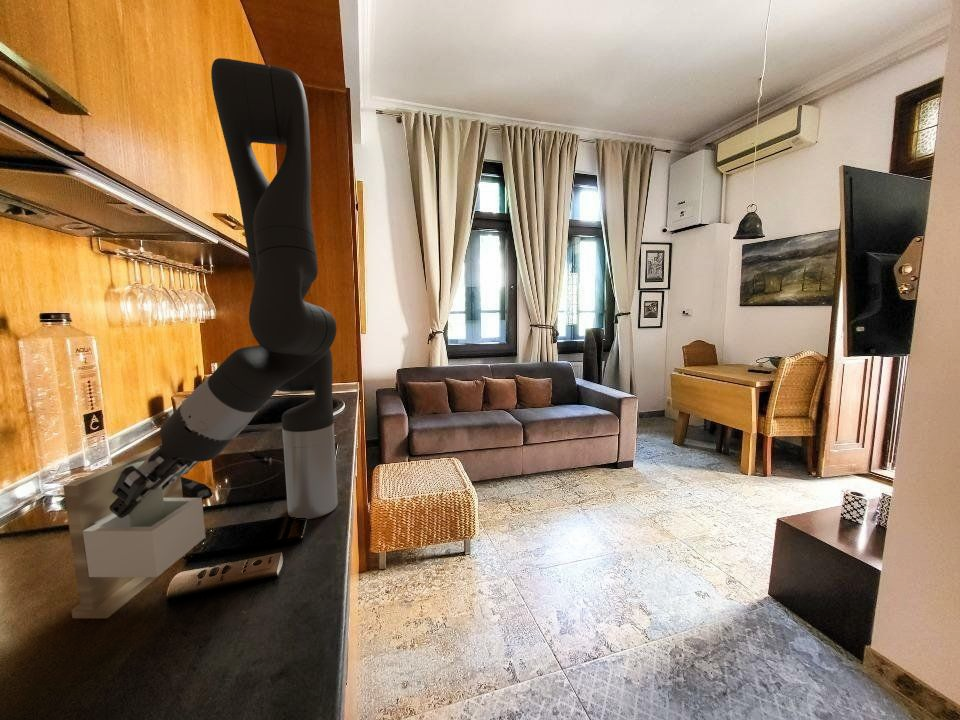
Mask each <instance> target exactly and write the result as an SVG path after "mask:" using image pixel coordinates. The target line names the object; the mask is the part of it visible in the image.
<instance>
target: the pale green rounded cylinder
mask: <svg viewBox="0 0 960 720" xmlns="http://www.w3.org/2000/svg"><path fill="white" fill-rule="evenodd" d="M144 462H145V461H141V462H137V463H133V464H131V465H128V466H126V467H125V468H127V467H130V466H134V467H135V468H136V469H137V468H138V467H139V466H141V465H142V464H143V463H144ZM125 468H124V469H125ZM124 469H123V470H124ZM156 478H157V477H156ZM158 479H159V480H160V478H158ZM145 488H146V485H145V487H144V489H145ZM144 489H143V490H144ZM129 518H130V526H131V527H151V526H152V525H154V524H156V523H157V522H159V521H160V520H162V519H163V518H165V508H164V499H163V491H162V487H159V488H157V489H155V490H152V491H151V492H150V493H149V494H148V495H147V496H145V498H144V499H143V500H141V502H140V503H139V504H138V505H137V506H136V507H135V508H134V509H133V510H132V511H131V512H130V513H129Z"/></svg>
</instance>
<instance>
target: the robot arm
mask: <svg viewBox="0 0 960 720" xmlns="http://www.w3.org/2000/svg"><path fill="white" fill-rule="evenodd" d="M210 72H211V73H210V76H211V88H212V92H213V98H214V102H215V106H216V112H217V115H218V119H219V122H220V128H221V131H222V134H223V139H224V142H225V147H226V150H227V154H228V158H229V162H230V166H231V170H232V174H233V179H234V182H235V185H236V186H235V187H236V193H237V196H238V200H239V206H240V207H239V208H240V213H241V219H242V224H243V231H244V237H245V244H246V250H247V254H248V259H249V264H250V270H251V274H252V277H253V282H254V284H253V288H252V295H251V301H250V305H249V311H248V323H249V324H248V325H249V327H250V332H251V333H252V335H253V338H254V339H255V341H256V342H257V344H258V345H254V346H253V345H252V346H244V347H241V348H238V349H236V350H234V351H233V352H232V353H230V354H229V356H227V358H226V359H224V360H223V362H221V364H220V365H219V366H218V367H217V368H216V369H215V370H214V371H213V373H212V374H211V375H210V376H209V377H208V378H207V379H206V380H204V381H203V382H202V383H200V384H199V385H198V386H197V387H196V388H195V389H194V390H193V391H192V392H190V395H188V396H187V398H185V400H184V401H182V403H181V404H180V405H179V407H177V408H176V409H175V410H174V412H173V413H172V414H171V415H170V416H169V417H168V418H167V419H166V420H165V422H163V423H162V425H161V427H160V430H159V431H160V432H159V435H160V441H161V444H159V445H160V446H159V445H157V446H158V447H157V446H156V447H157V448H156V449H155V450H154V451H153V452H151V453H150V457H149V458H148V459H147V460H146V461H145V462H144V463H143V464H142V465H141V466H139V467H138V468H137V469H136V468H135V467H134V466H130V467H127V468H125V469H124V471H123V472H122V473H121V475H120V477H119V479H118V481H117V483H116V485H115V487H114V489H113V491H112V493H114V494H115V495H117V496H118V498H117V499H116V500H115V501H114V502H113V503H112V504H111V505H110V510H111V511H112V512H113V513H114V514H115V515H117V516H118V517H119V518H123V517H125V516H127V515H128V514H129V513H130V512H131V511H132V510H133V509H134V508H135V507H136V506H137V505H138V504H139V503H140V502H141V500H143V499H144V498H145V496H147V495H148V494H149V493H150V492H151V491H152V490H155V489H157V488H159V487H162V491H163V490H164V489H165V488H166V487H167V486H168V485H169V484H171V483H173V482H175V481H176V479H177V478H178V477H180V476H181V477H182V476H185V475H187V474H188V473H189V472H190V470H192V469H193V468H194V467H196V465H197V464H198V463H200V462H207V461H211V460H213V459H215V458H217V457H218V456H219V455H220V454H221V453H222V452H223V451H224V450H225V449H226V448H227V447H228V446H229V445H230V444H231V442H233V440H234V439H236V437H237V436H238V435H239V434H240V433H241V432H242V431H243V430H244V429H245V428H246V427H247V425H248V424H249V423H250V422H251V421H252V419H253V418H254V417H255V416H256V414H257V412H258V411H259V410H260V409H261V408H262V407H263V406H264V404H266V402H268V400H269V399H271V397H272V396H273V395H274V394H275V393H276V392H277V391H278V392H284V393H289V392H290V393H291V392H292V393H293V392H310V391H311V392H312V391H313V393H314V395H313V397H311V399H309V400H308V401H306V402H304V403H302V404H300V405H297V406H294V407H292V408H289V409H287V410H286V411H284V412H283V413H282V416H281V428H282V429H281V430H282V442H283V456H284V457H283V458H284V460H283V461H284V472H285V487H286V488H285V489H286V502H287V504H286V505H287V514H288V516H289V517H290V518H293V517H296V518H306V519H305V520H311V519H315V518H319V517H322V516H325V515H328V514H329V513H331V512H333V511H334V510H335V509H336V508H337V506H338V503H339V501H338V482H337V480H338V479H337V462H336V461H337V460H336V459H337V457H336V442H335V439H336V438H335V421H334V406H333V403H334V401H333V356H332V350H331V347H332V346H333V344H334V342H335V339H336V337H337V324H336V323H337V322H336V320H335V318H334V316H333V315H332V314H331V312H329V311H328V310H326V309H325V308H323V307H322V306H319V305H316V304H314V303H311V302H307V301H305V300H304V299H305V297H306V296H307V294H308V292H309V291H310V290H311V287H312V284H313V283H314V282H315V280H316V279H317V277H318V257H317V252H316V245H315V244H316V243H315V237H314V229H313V220H312V219H313V218H312V202H311V200H312V194H311V193H312V163H311V161H312V160H311V158H312V156H311V135H310V134H311V133H310V118H309V117H310V116H309V107H308V101H307V96H306V91H305V88H304V86H303V85H304V83H303V82H302V80H301V78H300V77H299V75H298V74H297V73H296V72H294V71H293V70H291V69H288V68H284V67H280V66H275V65H268V64H263V63H257V62H249V61H244V60H238V59H232V58H223V57H219V58H216V59H214V60H213V62H212V64H211V70H210ZM252 143H254V144H255V143H258V144H264V145H265V144H266V145H267V144H268V145H277V146H286V147H285V153H284V158H283V160H282V163H281V165H280V166H279V168H278V170H277V172H276V174H275V175H274V177H273V179H272V180H271V182H270V181H269V180H268V178H267V177H266V176H265V173H264V172H263V170H262V168H261V167H260V164H259V162H258V159H257V157H256V155H255V153H254V149H253V146H252ZM156 477H157V478H156ZM158 478H160V480H159V479H158ZM145 485H146V488H145V489H144V487H145ZM143 489H144V490H143ZM296 518H295V519H296Z"/></svg>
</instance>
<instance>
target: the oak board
mask: <svg viewBox="0 0 960 720" xmlns="http://www.w3.org/2000/svg"><path fill="white" fill-rule="evenodd" d="M160 445H161V444H159V445H157V446H154V447H151V448H150V449H148V450H145V451H142V452H140V453H137V454H136V455H132V456H131V457H128V458H126V459H124V460H121V461H119V462H117V463H114V464H112V465H109V466H107V467H105V468H102V469H100V470H98V471H95V472H92V473H90V474H87V475H86V476H83V477H80V478H79V479H75V480H74V481H71V482H69V483H66V484H64V485H62V487H63V495H64V500H65V507H66V515H67V520H68V528H69V529H68V530H69V536H70V542H71V543H70V544H71V549H72V556H73V563H74V570H75V577H76V585H77V591H78V598H79V604H76V606H74V607H73V608H72V609H71V615H72V619H108V618H110V617H111V616H112V615H113V614H115V613H116V612H117V611H119V610H120V609H121V608H122V607H123V606H124V605H126V604H127V603H129V601H130V600H132V599H133V598H134V597H135V596H136V595H138V594H139V593H140V592H141V591H142V590H144V589H145V588H146V587H148V586H149V585H150V584H151V583H152V582H154V581H155V580H156V579H157V578H158V577H89V573H88V565H87V558H86V551H85V544H84V537H83V531H84V530H86V529H87V528H89V527H91V526H93V525H94V523H95V522H97V521H98V520H100V519H102V518H104V517H106V516H108V515H109V514H111V513H113V512H112V511H111V510H110V505H111V504H112V503H113V502H114V501H115V500H116V499H117V498H118V496H117V495H115V494H114V493H112V491H113V489H114V487H115V485H116V483H117V481H118V479H119V477H120V475H121V473H122V472H123V471H124V470H123V469H124V468H125V467H126V466H128V465H131V464H133V463H137V462H141V461H146V460H147V459H148V458H149V457H150V453H151V452H153V451H154V450H155V449H156V448H157V447H158V446H160ZM181 477H182V475H181V476H180V477H178V478H177V479H176V481H175V482H173V483H171V484H169V485H168V486H167V487H166V488H165V489H164V490H163V498H184V495H183V494H184V493H183V492H182V483H181ZM190 551H191V550H189V551H188V552H187V553H189V552H190ZM184 556H185V555H183V556H182V557H184ZM178 561H179V560H177V561H176V562H178ZM173 565H174V564H172V565H171V566H170V567H172V566H173ZM167 570H168V569H166V570H165V571H167ZM161 575H162V574H160V575H159V576H161Z"/></svg>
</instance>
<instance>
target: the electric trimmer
mask: <svg viewBox="0 0 960 720" xmlns="http://www.w3.org/2000/svg"><path fill="white" fill-rule="evenodd" d="M181 483H182V493H183V494H185V495H187V496H189V497H190V498H202V501H203V499H204V500H206V498H207V499H209V498H212V497H213V491H212V490H211V488H210V487H209V486H207V484H205V483H201V482H198V481H197V480H194V479H193V480H192V479H189V478H186V477H184V476H181ZM211 496H212V497H211Z"/></svg>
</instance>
